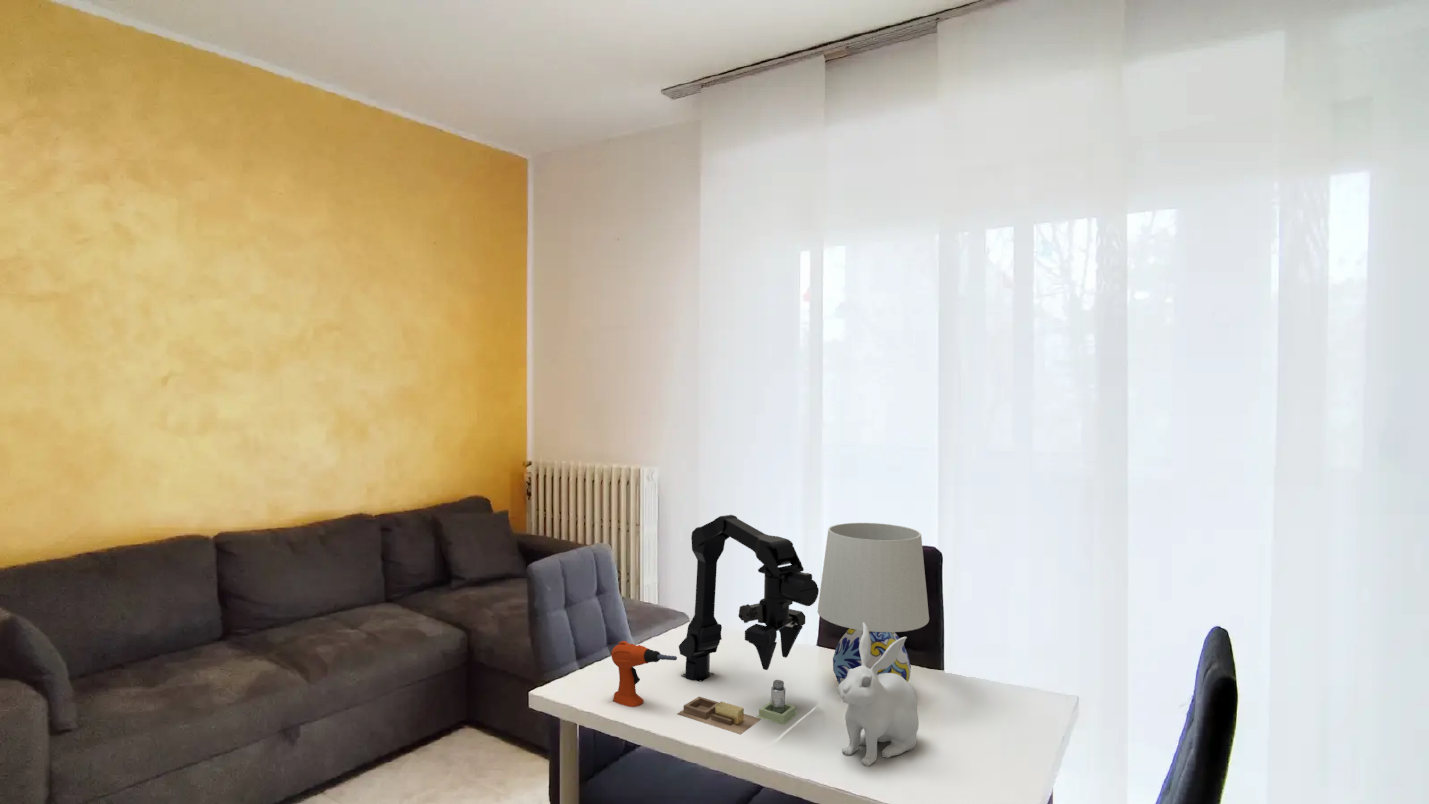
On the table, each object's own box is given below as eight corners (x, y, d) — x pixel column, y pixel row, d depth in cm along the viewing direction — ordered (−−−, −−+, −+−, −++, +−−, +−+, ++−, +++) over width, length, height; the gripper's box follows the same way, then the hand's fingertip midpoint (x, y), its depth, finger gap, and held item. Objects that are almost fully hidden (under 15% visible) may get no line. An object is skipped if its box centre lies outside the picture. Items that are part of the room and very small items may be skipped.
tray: (771, 708, 171) (771, 698, 171) (798, 715, 168) (798, 706, 168) (756, 719, 166) (756, 709, 166) (784, 727, 162) (784, 717, 162)
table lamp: (888, 665, 199) (891, 519, 199) (950, 707, 174) (954, 539, 173) (798, 676, 191) (800, 523, 190) (848, 721, 165) (852, 545, 164)
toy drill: (675, 716, 163) (669, 648, 164) (609, 707, 172) (603, 643, 173) (687, 708, 167) (681, 642, 168) (621, 700, 177) (616, 637, 177)
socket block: (699, 702, 174) (699, 693, 174) (761, 721, 164) (761, 711, 164) (676, 716, 166) (676, 707, 166) (740, 737, 157) (740, 727, 157)
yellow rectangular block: (720, 713, 166) (721, 701, 166) (743, 720, 163) (743, 708, 163) (715, 717, 164) (715, 705, 164) (737, 724, 161) (738, 712, 161)
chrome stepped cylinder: (774, 710, 169) (775, 678, 169) (787, 714, 167) (788, 681, 167) (768, 715, 166) (769, 682, 166) (780, 719, 164) (781, 686, 164)
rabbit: (821, 753, 150) (823, 633, 150) (885, 726, 163) (888, 615, 163) (864, 777, 141) (866, 649, 141) (929, 747, 154) (932, 629, 153)
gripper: (765, 580, 179) (764, 644, 179) (724, 598, 163) (723, 668, 163) (807, 588, 172) (805, 654, 173) (768, 607, 157) (767, 679, 157)
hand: (775, 663), depth 167 cm, fingers open, 9 cm apart
